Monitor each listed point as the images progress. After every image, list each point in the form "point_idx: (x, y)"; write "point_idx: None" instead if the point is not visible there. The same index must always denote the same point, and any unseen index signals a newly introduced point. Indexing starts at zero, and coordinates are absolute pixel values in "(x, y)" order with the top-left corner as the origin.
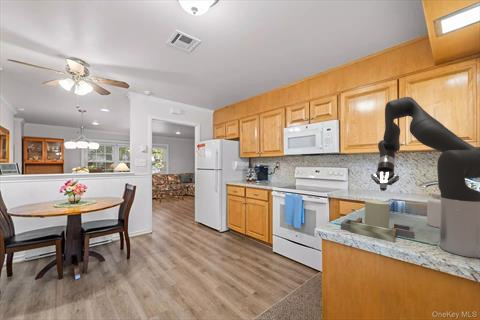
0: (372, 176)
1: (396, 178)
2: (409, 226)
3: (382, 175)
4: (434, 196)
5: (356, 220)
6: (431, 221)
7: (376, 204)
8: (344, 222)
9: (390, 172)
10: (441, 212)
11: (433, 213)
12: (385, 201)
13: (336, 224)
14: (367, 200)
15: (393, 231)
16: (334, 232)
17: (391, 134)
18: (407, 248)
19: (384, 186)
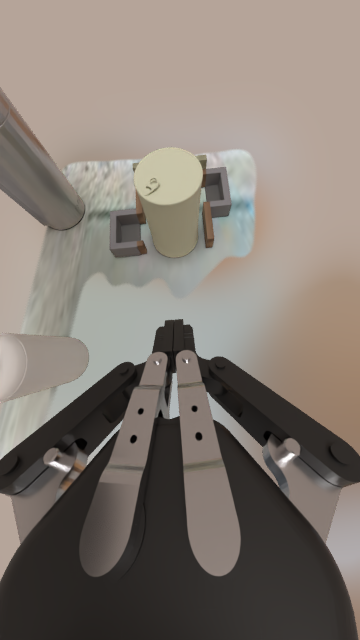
0: (306, 417)
1: (50, 421)
2: (116, 245)
3: (188, 441)
4: None
5: (209, 207)
6: (75, 341)
7: (163, 152)
8: (222, 176)
9: (42, 629)
10: (26, 126)
11: (52, 338)
12: (147, 198)
13: (241, 200)
14: (196, 176)
15: (134, 165)
16: (223, 157)
17: None
18: (122, 172)
19: (165, 329)
